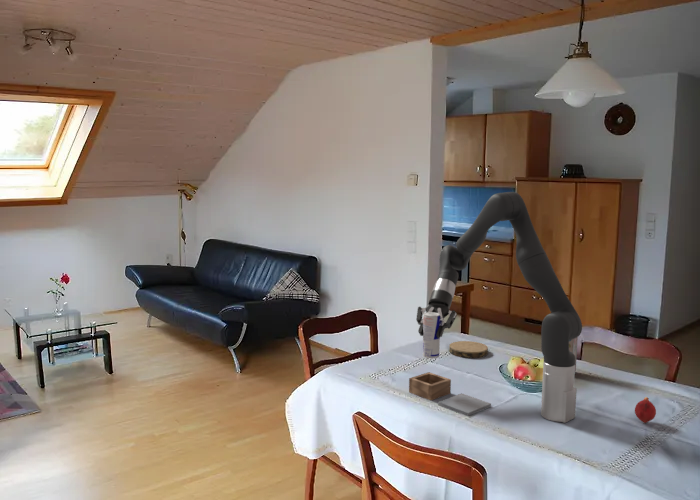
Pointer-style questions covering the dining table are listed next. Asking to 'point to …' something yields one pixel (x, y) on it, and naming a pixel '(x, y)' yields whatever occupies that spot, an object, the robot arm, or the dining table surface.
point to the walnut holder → (429, 386)
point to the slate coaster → (464, 404)
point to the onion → (645, 410)
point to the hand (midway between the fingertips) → (429, 335)
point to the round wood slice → (468, 349)
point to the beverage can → (431, 335)
